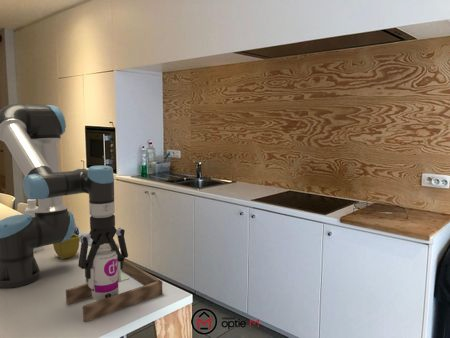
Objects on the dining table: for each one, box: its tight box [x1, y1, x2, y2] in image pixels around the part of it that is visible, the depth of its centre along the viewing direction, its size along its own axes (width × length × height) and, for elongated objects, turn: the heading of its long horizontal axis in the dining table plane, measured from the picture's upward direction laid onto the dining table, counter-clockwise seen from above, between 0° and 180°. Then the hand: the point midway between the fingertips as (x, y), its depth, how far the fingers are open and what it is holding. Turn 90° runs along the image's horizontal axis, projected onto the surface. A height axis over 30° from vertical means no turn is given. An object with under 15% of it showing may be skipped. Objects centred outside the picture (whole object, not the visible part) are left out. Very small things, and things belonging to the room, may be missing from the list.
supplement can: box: [91, 247, 119, 301], centre depth 118 cm, size 8×8×15 cm
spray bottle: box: [23, 198, 44, 253], centre depth 165 cm, size 7×7×25 cm
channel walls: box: [65, 258, 163, 323], centre depth 126 cm, size 27×28×4 cm
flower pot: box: [52, 233, 81, 260], centre depth 159 cm, size 9×9×9 cm
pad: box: [118, 272, 130, 283], centre depth 137 cm, size 10×9×1 cm
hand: (104, 283), depth 118 cm, fingers closed on supplement can, 8 cm apart
